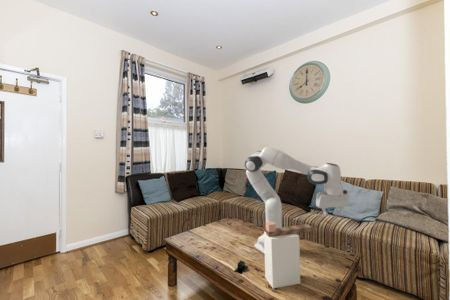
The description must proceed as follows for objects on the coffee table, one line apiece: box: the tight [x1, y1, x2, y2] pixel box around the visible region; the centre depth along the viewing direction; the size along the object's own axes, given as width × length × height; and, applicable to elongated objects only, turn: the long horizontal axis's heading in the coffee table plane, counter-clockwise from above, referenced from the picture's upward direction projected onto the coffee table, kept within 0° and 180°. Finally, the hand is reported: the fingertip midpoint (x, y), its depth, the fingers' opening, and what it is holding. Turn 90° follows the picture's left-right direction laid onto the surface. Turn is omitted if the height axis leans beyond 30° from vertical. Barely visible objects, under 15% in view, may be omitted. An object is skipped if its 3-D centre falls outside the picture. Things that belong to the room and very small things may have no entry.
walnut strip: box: [266, 223, 313, 237], centre depth 118 cm, size 26×4×2 cm, turn 102°
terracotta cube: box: [265, 221, 276, 232], centre depth 115 cm, size 4×4×4 cm
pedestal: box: [263, 231, 301, 289], centre depth 117 cm, size 16×10×26 cm, turn 102°
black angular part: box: [233, 260, 249, 275], centre depth 129 cm, size 12×7×5 cm, turn 146°
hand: (332, 214), depth 124 cm, fingers open, 8 cm apart
